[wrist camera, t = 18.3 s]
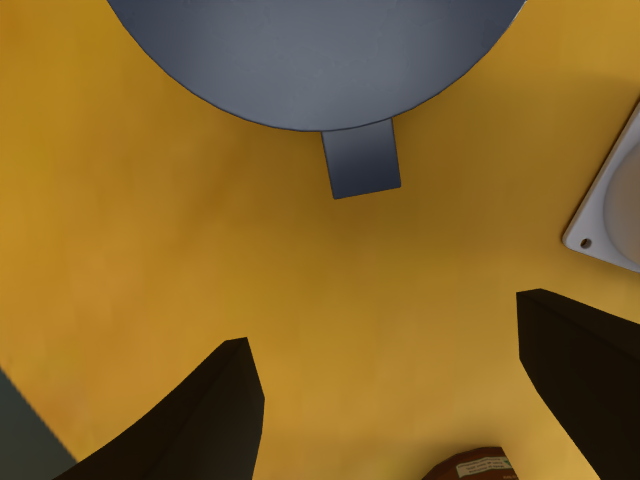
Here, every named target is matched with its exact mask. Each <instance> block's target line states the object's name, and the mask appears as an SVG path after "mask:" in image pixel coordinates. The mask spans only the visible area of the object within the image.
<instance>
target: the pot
mask: <svg viewBox="0 0 640 480" xmlns="http://www.w3.org/2000/svg"><path fill="white" fill-rule="evenodd" d="M321 137H322V142H323V147H324V153H325V158H326V163H327V168H328V173H329V179H330V184H331V189H332V194H333V198H334V199H341V198H346V197H352V196H357V195H362V194H368V193H373V192H379V191H384V190H389V189H395V188H400V187H401V179H400V172H399V164H398V157H397V150H396V142H395V135H394V128H393V120H392V118H390V119H388V120H385V121H382V122H378V123H374V124H370V125H367V126H363V127H359V128H354V129H346V130H339V131H331V132H321Z"/></svg>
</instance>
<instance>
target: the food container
mask: <svg viewBox="0 0 640 480" xmlns="http://www.w3.org/2000/svg"><path fill="white" fill-rule="evenodd" d="M422 480H519V479H518V477H517V475H516V473H515V471H514V469H513V468H512V466H511V464H510V462H509V460H508V458H507V457H506V455H505V453H504V451H503V449H502V447H493V448H480V449H476V450H472V451H468V452H464V453H460V454H457V455H455V456H453V457H451V458H449V459H447V460H446V461H444V462H442V463H440V464H438V465H436V466H435V467H434V468H433V469H432V470H431V471H430V472H429V473H428V474H427V475H426V476H425V477H424V478H423V479H422Z"/></svg>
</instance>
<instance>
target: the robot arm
mask: <svg viewBox="0 0 640 480" xmlns="http://www.w3.org/2000/svg"><path fill="white" fill-rule="evenodd" d="M584 239H587V243H586V244H585V245H583V246H580V244H581V242H582V241H583V240H584ZM562 241H563V244H564V245H565V246H566V247H568V248H569V249H571V250H574V251H577V252H580V253H583V254H586V255H589V256H591V257H594V258H597V259H600V260H603V261H606V262H609V263H611V264H614V265H617V266H620V267H623V268H626V269H629V270H632V271H634V272H637V273H640V101H639V103H638V105H637V107H636V108H635V110H634V112H633V114H632V115H631V117H630V119H629V121H628V122H627V124H626V126H625V128H624V130H623V131H622V133H621V135H620V137H619V138H618V140H617V142H616V144H615V145H614V147H613V149H612V151H611V152H610V154H609V156H608V158H607V159H606V161H605V163H604V165H603V166H602V168H601V170H600V172H599V174H598V175H597V177H596V179H595V181H594V182H593V184H592V186H591V188H590V189H589V191H588V193H587V195H586V196H585V198H584V200H583V202H582V203H581V205H580V207H579V209H578V211H577V212H576V214H575V216H574V218H573V219H572V221H571V223H570V225H569V226H568V228H567V230H566V232H565V233H564V235H563V238H562ZM516 300H517V319H518V338H519V358H520V361H521V363H522V365H523V367H524V368H525V370H526V372H527V374H528V376H529V378H530V380H531V382H532V383H533V385H534V387H535V389H536V390H537V392H538V394H539V395H540V397H541V398H542V399H543V401H544V402H545V404H546V405H547V406H548V408H549V409H550V410H551V412H552V413H553V415H554V416H555V417H556V419H557V420H558V421H559V423H560V424H561V426H562V427H563V428H564V430H565V431H566V432H567V434H568V435H569V436H570V438H571V439H572V440H573V442H574V443H575V445H576V446H577V447H578V449H579V450H580V451H581V453H582V454H583V455H584V457H585V458H586V460H587V461H588V462H589V464H590V465H591V466H592V468H593V469H594V470H595V472H596V473H597V475H598V476H599V478H600V479H601V480H640V324H637V323H634V322H631V321H629V320H626V319H623V318H620V317H617V316H615V315H612V314H609V313H607V312H604V311H601V310H599V309H596V308H593V307H591V306H588V305H586V304H583V303H580V302H578V301H575V300H573V299H570V298H567V297H565V296H562V295H559V294H557V293H554V292H551V291H548V290H544V289H541V288H540V289H534V290H528V291H522V292H516ZM264 402H265V397H264V394H263V390H262V387H261V384H260V380H259V377H258V373H257V370H256V366H255V363H254V359H253V356H252V353H251V349H250V346H249V342H248V339H247V337H244V338H238V339H232V340H226V341H224V342H223V343H222V344H221V345H220V346H218V347H217V348H216V349H215V350H214V351H213V352H212V353H211V354H210V355H209V356H208V357H207V358H206V359H205V360H204V361H203V362H202V363H201V364H200V365H199V366H198V367H197V368H196V369H195V370H194V371H193V372H192V373H191V374H190V375H188V376H187V377H186V378H185V379H184V380H183V381H182V382H181V383H180V384H179V385H178V386H177V387H176V388H175V389H174V390H173V391H171V392H170V393H169V394H168V395H167V396H166V397H165V398H164V399H162V400H161V401H160V402H159V403H158V404H157V405H156V406H155V407H154V408H152V409H151V410H150V411H149V412H148V413H147V414H145V415H144V416H143V417H142V418H141V419H139V420H138V421H137V422H136V423H134V424H133V425H132V426H130V427H129V428H128V429H126V430H125V431H124V432H122V433H121V434H120V435H119V436H117V437H116V438H115V439H113V440H112V441H110V442H109V443H108V444H106V445H105V446H103V447H102V448H100V449H99V450H97V451H96V452H94V453H93V454H91V455H90V456H88V457H87V458H85V459H84V460H82V461H81V462H79V463H78V464H76V465H75V466H73V467H72V468H70V469H69V470H67V471H66V472H64V473H62V474H61V475H59V476H57V477H56V478H54V479H52V480H252V476H253V472H254V467H255V463H256V458H257V454H258V449H259V444H260V440H261V435H262V426H263V416H264Z"/></svg>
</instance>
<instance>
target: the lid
mask: <svg viewBox="0 0 640 480" xmlns="http://www.w3.org/2000/svg"><path fill="white" fill-rule="evenodd" d="M107 1H108V3H109V5H110V6H111V8H112V9H113V11H114V12H115V14H116V15H117V17H118V18H119V20H120V21H121V23H122V25H123V26H124V27H125V29H126V30H127V31H128V32H129V34H130V35H131V36H132V37H133V38H134V40H135V41H136V42H137V43H138V44H139V46H140V47H141V48H142V49H143V51H144V52H145V53H146V54H147V55H148V56H149V57H150V58H151V59H152V60H153V61H154V62H155V63H156V64H157V65H158V66H159V67H161V68H162V69H163V70H164V71H165V72H166V73H167V74H168V75H169V76H170V77H172V78H173V79H174V80H175V81H177V82H178V83H179V84H181V85H182V86H183V87H185V88H186V89H187V90H189V91H190V92H191V93H193V94H194V95H196V96H198V97H199V98H201V99H203V100H204V101H206V102H208V103H210V104H211V105H213V106H215V107H216V108H218V109H220V110H223V111H225V112H227V113H230V114H232V115H234V116H237V117H239V118H241V119H244V120H247V121H250V122H254V123H257V124H261V125H265V126H268V127H272V128H278V129H285V130H292V131H299V132H331V131H339V130H346V129H354V128H359V127H363V126H367V125H370V124H374V123H378V122H382V121H385V120H388V119H390V118H392V117H395V116H397V115H400V114H402V113H404V112H407V111H409V110H412V109H413V108H415V107H417V106H419V105H420V104H422V103H424V102H426V101H427V100H429V99H431V98H433V97H434V96H436V95H438V94H439V93H441V92H442V91H443V90H445V89H446V88H447V87H449V86H450V85H451V84H453V83H454V82H455V81H457V80H458V79H459V78H461V77H462V76H463V75H465V74H466V73H467V72H468V71H469V70H470V69H471V68H472V67H473V66H474V65H475V64H476V63H477V62H478V61H479V60H480V59H481V58H482V57H483V56H485V55H486V54H487V53H488V52H489V50H490V49H491V48H492V47H493V46H494V44H495V43H496V42H497V41H498V40H499V38H500V37H501V36H502V35H503V34H504V32H505V31H506V30H507V29H508V28H509V26H510V25H511V24H512V22H513V21H514V19H515V18H516V16H517V15H518V13H519V12H520V10H521V9H522V7H523V6H524V4H525V3H526V1H527V0H107Z"/></svg>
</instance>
